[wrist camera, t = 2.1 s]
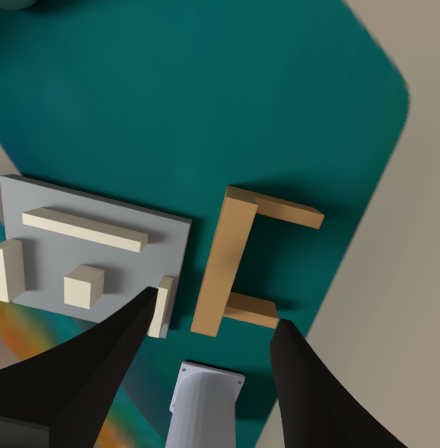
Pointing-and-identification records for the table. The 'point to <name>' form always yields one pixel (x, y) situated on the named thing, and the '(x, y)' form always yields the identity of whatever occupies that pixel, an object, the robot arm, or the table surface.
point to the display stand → (87, 252)
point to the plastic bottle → (16, 4)
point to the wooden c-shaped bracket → (231, 255)
